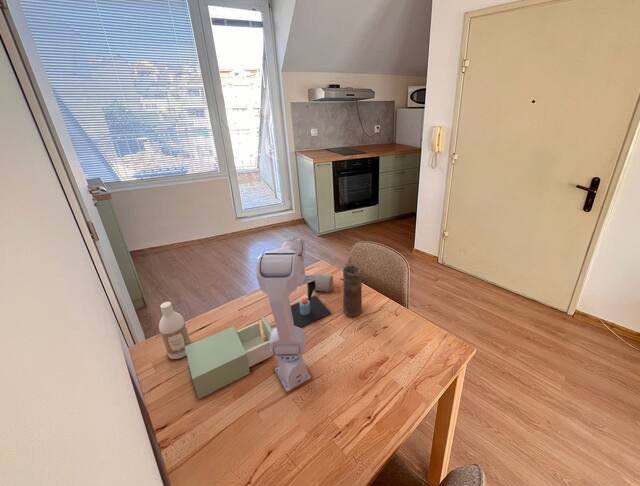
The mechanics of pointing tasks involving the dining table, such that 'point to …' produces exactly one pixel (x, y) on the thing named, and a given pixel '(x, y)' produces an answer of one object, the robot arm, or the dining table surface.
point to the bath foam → (173, 331)
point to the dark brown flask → (352, 290)
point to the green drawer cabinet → (216, 361)
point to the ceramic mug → (324, 282)
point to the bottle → (304, 306)
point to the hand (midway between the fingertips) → (298, 300)
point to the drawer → (256, 341)
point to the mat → (315, 313)
